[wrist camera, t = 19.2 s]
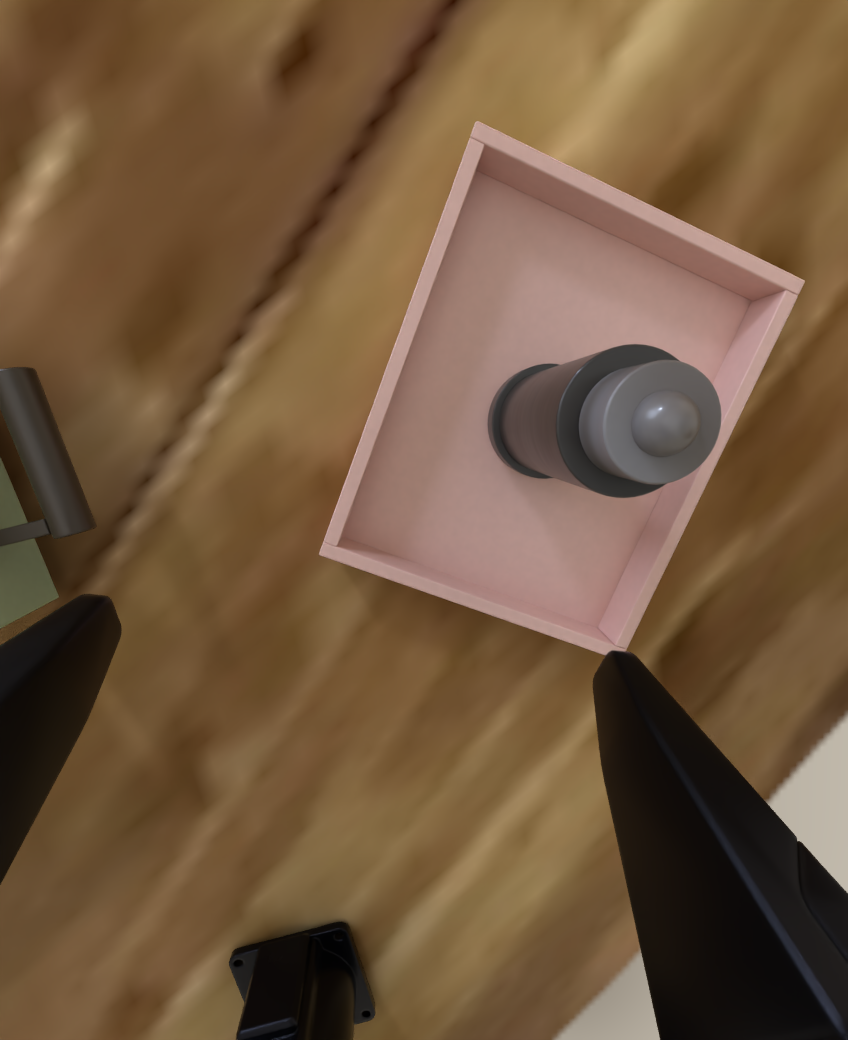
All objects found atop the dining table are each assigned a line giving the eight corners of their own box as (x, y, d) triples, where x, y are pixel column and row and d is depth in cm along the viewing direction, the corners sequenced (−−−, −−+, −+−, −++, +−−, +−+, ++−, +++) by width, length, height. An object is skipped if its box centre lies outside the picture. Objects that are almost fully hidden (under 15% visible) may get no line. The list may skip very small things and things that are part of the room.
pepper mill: (539, 498, 23) (671, 567, 12) (464, 423, 22) (535, 427, 11) (615, 420, 22) (824, 420, 12) (542, 341, 22) (694, 262, 11)
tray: (598, 638, 25) (621, 661, 22) (325, 541, 23) (318, 555, 21) (760, 295, 22) (806, 280, 20) (466, 155, 20) (476, 119, 18)
